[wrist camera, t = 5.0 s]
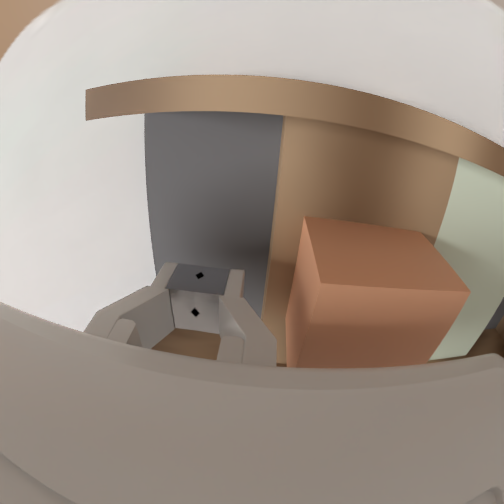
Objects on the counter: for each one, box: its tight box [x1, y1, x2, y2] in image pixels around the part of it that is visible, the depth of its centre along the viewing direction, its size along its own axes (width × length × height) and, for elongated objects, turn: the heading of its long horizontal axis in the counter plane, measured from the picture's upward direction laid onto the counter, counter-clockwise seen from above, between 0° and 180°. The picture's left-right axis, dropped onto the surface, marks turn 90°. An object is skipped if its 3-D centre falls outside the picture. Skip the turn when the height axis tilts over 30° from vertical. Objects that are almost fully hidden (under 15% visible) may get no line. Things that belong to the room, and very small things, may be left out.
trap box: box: [86, 75, 504, 367], centre depth 11 cm, size 28×14×5 cm, turn 86°
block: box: [285, 216, 471, 368], centre depth 9 cm, size 5×5×4 cm
